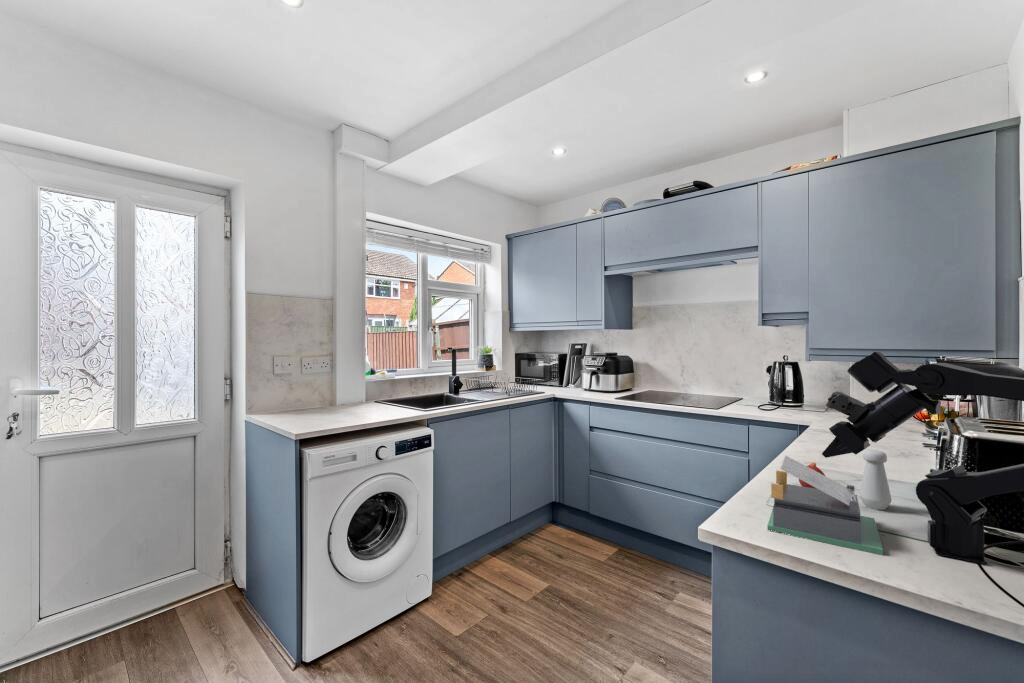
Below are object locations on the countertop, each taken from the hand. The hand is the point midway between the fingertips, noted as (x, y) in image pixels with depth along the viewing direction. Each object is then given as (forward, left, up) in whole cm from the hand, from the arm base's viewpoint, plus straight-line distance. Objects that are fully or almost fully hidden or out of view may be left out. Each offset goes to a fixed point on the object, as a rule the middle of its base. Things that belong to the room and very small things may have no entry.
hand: (825, 454), depth 96 cm
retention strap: (+2, +6, -5) cm, 8 cm away
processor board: (+1, +6, -14) cm, 15 cm away
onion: (+3, -16, -14) cm, 21 cm away
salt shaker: (-9, -14, -14) cm, 22 cm away
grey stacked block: (+2, +6, -13) cm, 14 cm away
